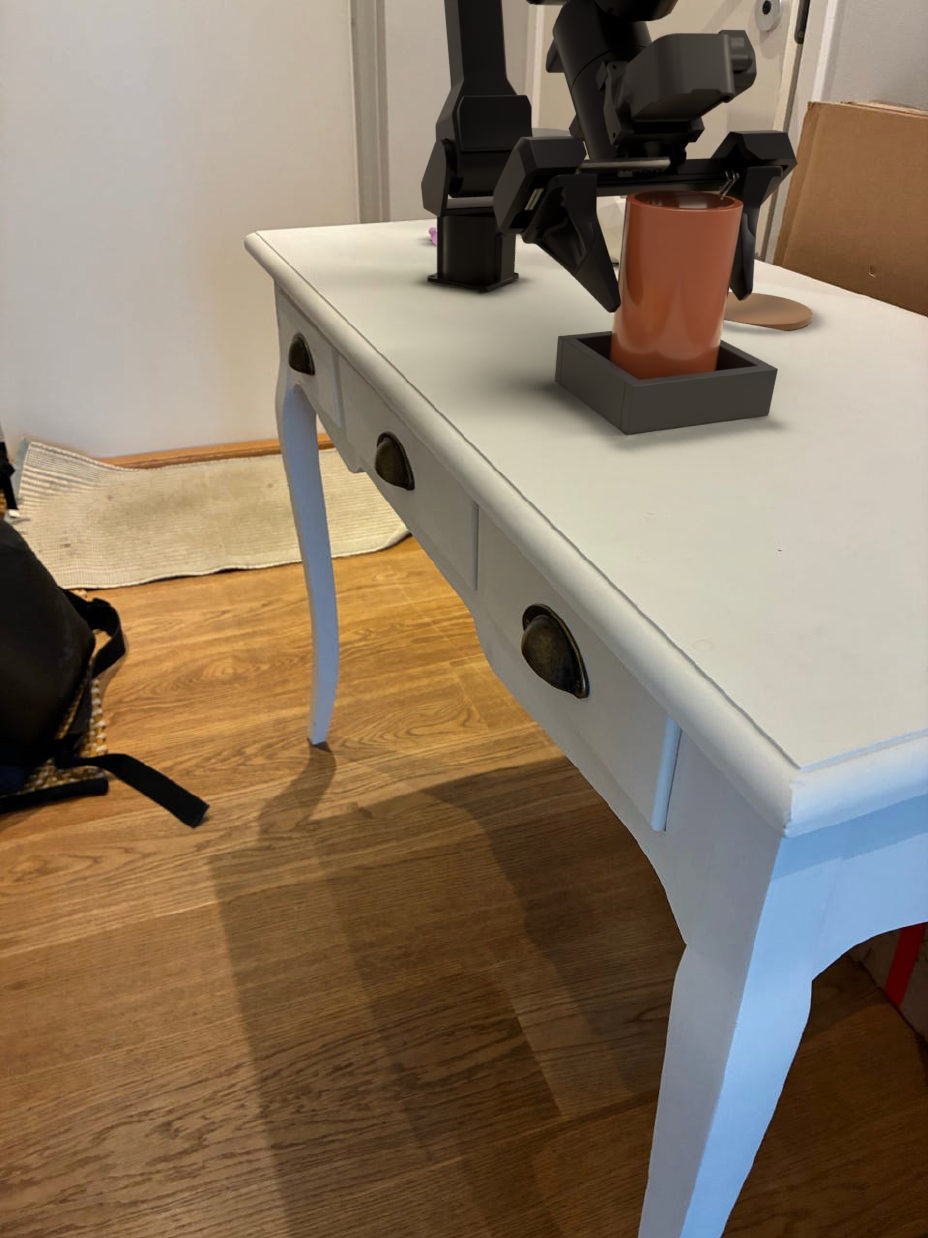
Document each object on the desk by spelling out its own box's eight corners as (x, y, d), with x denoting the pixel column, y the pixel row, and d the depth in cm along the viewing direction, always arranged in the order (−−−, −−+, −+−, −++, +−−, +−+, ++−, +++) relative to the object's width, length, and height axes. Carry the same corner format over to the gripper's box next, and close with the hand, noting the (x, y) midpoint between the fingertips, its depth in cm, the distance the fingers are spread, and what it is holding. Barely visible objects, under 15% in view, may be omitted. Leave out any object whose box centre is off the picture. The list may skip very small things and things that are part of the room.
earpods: (442, 257, 102) (455, 246, 102) (438, 248, 101) (451, 237, 101) (427, 241, 104) (440, 230, 103) (422, 232, 102) (435, 221, 102)
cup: (587, 400, 61) (606, 200, 54) (631, 372, 66) (653, 184, 59) (687, 423, 58) (719, 214, 51) (725, 392, 63) (759, 197, 56)
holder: (553, 387, 65) (557, 335, 63) (681, 372, 68) (689, 322, 66) (625, 444, 57) (632, 386, 55) (767, 423, 60) (778, 368, 58)
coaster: (673, 317, 80) (674, 310, 79) (714, 292, 87) (715, 285, 86) (790, 338, 75) (792, 331, 75) (824, 310, 82) (826, 303, 82)
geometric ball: (608, 293, 96) (570, 229, 91) (613, 247, 101) (577, 185, 96) (678, 261, 92) (643, 193, 87) (680, 216, 97) (646, 148, 92)
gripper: (520, -34, 50) (598, 230, 47) (812, -25, 55) (895, 212, 53) (465, 119, 60) (526, 342, 57) (715, 114, 66) (780, 316, 63)
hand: (682, 302), depth 57 cm, fingers open, 9 cm apart
